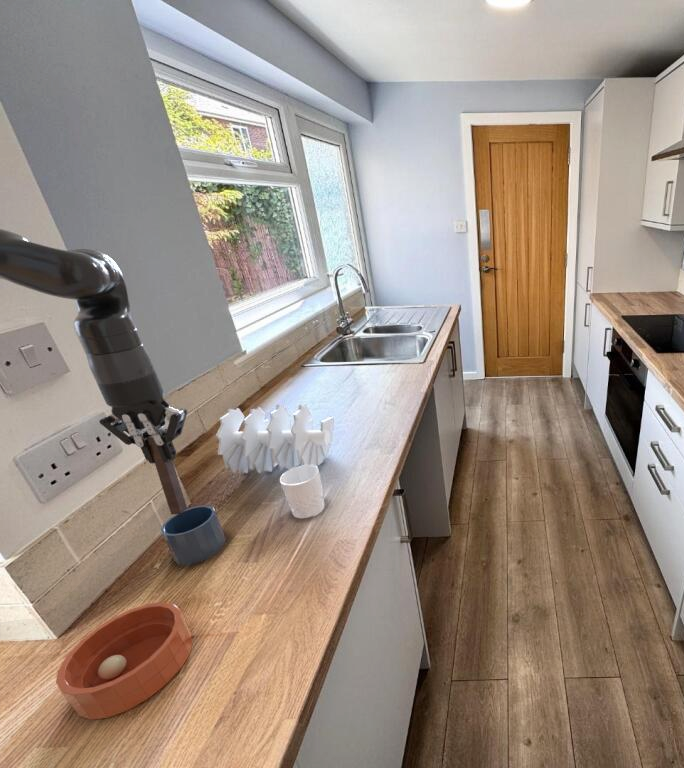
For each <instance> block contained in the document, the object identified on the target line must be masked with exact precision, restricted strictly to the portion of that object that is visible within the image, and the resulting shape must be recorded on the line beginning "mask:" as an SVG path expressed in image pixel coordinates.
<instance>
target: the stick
mask: <svg viewBox="0 0 684 768" xmlns="http://www.w3.org/2000/svg"><path fill="white" fill-rule="evenodd" d="M161 435H162V434H161ZM147 441H148V444H149V447H150V450H151V453H152V456H153V459H154V462H155V463H154V466H155V468H156V472H157V475H158V478H159V482H160V484H161V488H162V490H163V493H164V496H165V500H166V502H167V506H168V510H169V511H170V515H172V516H174V515H176V514H181V513H183V512H184V511H185V510H186V509H188V507H187V504H186V503H187V502H186V500H185V497H184V494H183V490H182V487H181V484H180V481H179V477H178V474H177V471H176V468H175V464H174V461H173V460H171V461H170V462H163V460H162V457H161V455H160V453H159V450H158V448H157V446H158V445H157V444H156V442H155V440H154V438H153V436H152V435H151V436H149V437H147Z"/></svg>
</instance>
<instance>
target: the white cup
mask: <svg viewBox="0 0 684 768" xmlns="http://www.w3.org/2000/svg"><path fill="white" fill-rule="evenodd" d="M279 483H280V486H281V488H282V491H283V494H284V496H285V499H286V502H287V504H288V506H289V509H290V511H291V514H292V516H294V518H295V519H308V518H311V517H313V518H314V517H316V516H318V515H319V514H320V513H322V511H324V509H325V500H324V499H325V498H324V491H323V486H322V480H321V475H320V470H319V467H318V466H317V467H316V466H315V465H303V464H299V465H297V466H295V467H293V468H291V469H289V470H288V469H287V470H286V471H285V472H283V473H282V475H280V477H279Z"/></svg>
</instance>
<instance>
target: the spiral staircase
mask: <svg viewBox="0 0 684 768" xmlns="http://www.w3.org/2000/svg"><path fill="white" fill-rule="evenodd" d="M311 415H312V414H311V411H310V409H309V407H308V405H307V404H304V405H302V404H299V405H298V410H296V412H294V413H292V416H293V424H292V425H291V417H290V413H289V411H288V410H287V408H286V406H285V405H284V406H282V405H279V404H276V408H275V409H274V410H273V411H272V412H270V413H269V416H270V417H269V418H270V419H269V418H267V419H266V416H267V414H266V413H265V412H264V411H263V408H261V407H260V406H257V408H250V409H249V414H248V415H247V416H245V415H244V413H243V412H242V410H241V409H240V408H239V407H236V408H234V409H233V408H227V413H226V414H224V415H223V416H221V417H220V418H219V422H220V426H219V428H218V430H217V432H216V433H215V435H214V436H215V437H216V439H217V440H218V448H217V455H219V456H220V455H221V456H222V460H223V462H224V463H223V464H224V467H225V468H224V469H226V470H228V469H230V470H231V472H232V474H236V473H237V471H238V472H241V473H244V474H248V473H249V470H252V471H253V470H256V471H257V473H258V474H261V473H262V471H264V472H270V473H271V472H273V469H274V468H276V467H277V466H278V468H279V470H283V468H285V469H286V470H287V471H288V470H289V469H291V468H294V467H297V466H300V465H315V466H316V467H318V466H320V465H321V464H322V463H324V462H325V459H326V458H327V456H328V454H329V452H330V449H331V446H332V443H333V437H334V431H335V422H334V421H335V420H334V416H330V417H328V418H326V419H323V420H322V421H320V430H319V429H318V430H316V429H315V430H314V429H313V428H314V427H313V424H314V423H313V418H311ZM310 418H311V419H310ZM242 423H243V425H244V428H243V430H242V431H239V430H240V428H241V425H242ZM291 426H292V427H291Z"/></svg>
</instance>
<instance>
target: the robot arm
mask: <svg viewBox="0 0 684 768" xmlns="http://www.w3.org/2000/svg"><path fill="white" fill-rule="evenodd" d="M0 280H4V281H8V282H10V283H12V284H15V285H18V286H21V287H24V288H27V289H29V290H33V291H36V292H38V293H42V294H45V295H49V296H52V297H56V298H60V299H68V300H74V301H75V304H76V308H77V311H78V312H77V315H76V317H75V318H74V320H73V328H74V331H75V334H76V336H77V338H78V341H79V343H80V344H81V347H82V349H83V352H84V353H85V356H86V359H87V363H88V367H89V369H90V373H92V376H93V378H94V380H95V382H96V384H97V386H98V389H99V391H100V394H101V395H102V398H103V401H104V402H105V404H106V405H107V406H109V407H111V410H110V411H111V413H110V414H108V415H106V416H104V417H102V418H101V419H99V421H98V423H99V424H100V425H101V426H102V427H104V428H105V429H106V430H107V431H109V432H110V433H111V434H112V435H114V436H115V437H116V438H118V439H119V440H120V441H121V442H122V443H124V444H125V445H128V446H130V445H132V444H133V445H136V446H137V447H139V448H140V449H141V452H142V454H143V456H144V459H145V460H146V461H147V462H148V463H149V464H155V462H154V459H153V456H152V453H151V450H150V447H149V444H148V441H147V437H149V436H151V435H152V436H153V438H154V440H155V442H156V444H157V445H158V446H157V448H158V450H159V453H160V455H161V457H162V460H163V462H170V461H171V460H172V461H173V460H174V459H175V458H176V456H177V450H176V447H175V445H174V442H173V441H174V440H175V439H177V438H178V437H179V436H181V435H182V432H183V429H184V426H185V422H186V418H187V414H188V410H187V409H186V408H183V407H182V408H180V409H176V408H174V407H170V403H169V402H168V401H166V400H165V398H164V389H163V386H162V384H161V381H160V379H159V376H158V374H157V371H156V369H155V366H154V363H153V361H152V358H151V356H150V354H149V352H148V351H147V349H146V348H145V346H144V343H143V341H142V338H141V337H140V334H139V332H138V329H137V327H136V324H135V322H134V320H133V318H132V312H131V303H130V298H129V293H128V287H127V284H126V280H125V278H124V275H123V273H122V271H121V269H120V267H119V266H118V264H117V263H116V262H115V260H113V258H111V256H109V255H107V254H106V253H103V252H101V251H98V250H95V249H90V248H77V249H76V248H75V249H69V250H65V249H59V248H55V247H50V246H46V245H43V244H40V243H37V242H36V243H35V242H32V241H29V240H28V239H27V238H26V237H24V236H22V235H20V234H17V233H15V232H12V231H9V230H6V229H4V228H3V229H2V228H0ZM161 434H162V435H161Z"/></svg>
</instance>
